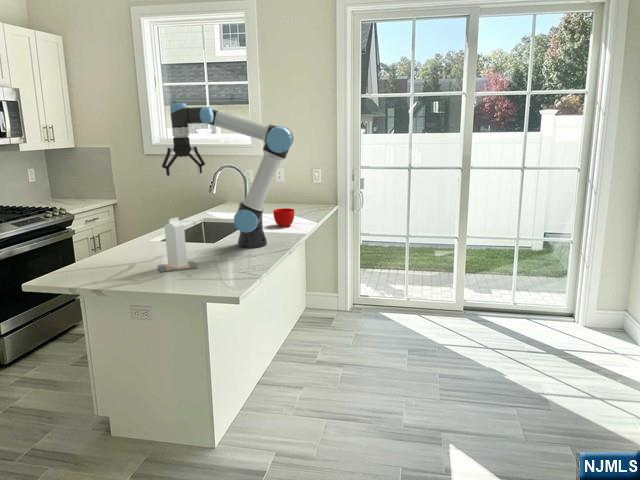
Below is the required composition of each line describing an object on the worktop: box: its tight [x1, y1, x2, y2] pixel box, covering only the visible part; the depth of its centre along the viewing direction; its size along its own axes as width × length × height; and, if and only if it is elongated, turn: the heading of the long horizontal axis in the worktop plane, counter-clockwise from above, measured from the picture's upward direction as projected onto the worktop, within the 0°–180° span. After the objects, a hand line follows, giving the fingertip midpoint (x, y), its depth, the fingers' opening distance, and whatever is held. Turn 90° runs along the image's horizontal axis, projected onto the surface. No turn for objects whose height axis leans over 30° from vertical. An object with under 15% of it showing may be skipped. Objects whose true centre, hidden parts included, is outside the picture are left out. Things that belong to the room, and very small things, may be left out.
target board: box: [157, 260, 198, 274], centre depth 228 cm, size 16×11×1 cm
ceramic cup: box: [272, 207, 295, 228], centre depth 312 cm, size 13×17×10 cm
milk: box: [164, 216, 188, 268], centre depth 225 cm, size 6×6×22 cm
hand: (185, 181), depth 246 cm, fingers open, 13 cm apart
